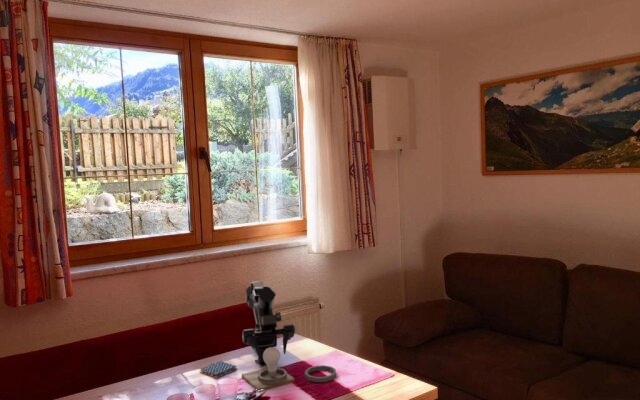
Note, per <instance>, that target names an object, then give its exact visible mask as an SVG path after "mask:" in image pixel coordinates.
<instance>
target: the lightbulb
mask: <svg viewBox="0 0 640 400" xmlns="http://www.w3.org/2000/svg"><path fill="white" fill-rule="evenodd" d="M280 359H281V353H280V350H278V348H277V347H269V348H267V349H266V350H265V351H264V353H263V360H264V362H265V363H266V365H265V366H266V368H268V371H269V376H270V377H271V378H274V377H275V376H276V370H277V366H278V364H279V361H280Z"/></svg>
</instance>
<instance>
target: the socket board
mask: <svg viewBox="0 0 640 400" xmlns="http://www.w3.org/2000/svg"><path fill="white" fill-rule="evenodd" d="M241 378H242V379H244V380H245V382H246V383H248V384H249V385H250V386H251V387H252V388H253V387H254V388H253V389H254V390H256V389H257V390H261V389H266V390H270V389H273V388H276V387H279V386H280V387H281V386H283V385H284V386H285V385H287V384H291V383H294V382H296V379H295V377H293V376H292V375H290V374H289V373H288V372H287V370H285V369H284V368H281V367H279V366H278V365H277V370H276V376H275V377H274V378H271V377H270V376H269V371H268V368H267V367H265V368H262V369H257V370H253V371H250V372H246V373H242V374H241ZM257 390H256V391H257Z"/></svg>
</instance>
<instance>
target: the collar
mask: <svg viewBox="0 0 640 400" xmlns="http://www.w3.org/2000/svg"><path fill="white" fill-rule="evenodd" d="M317 371H326V372H330V373H331V374H328V375H325V376H313V375H310V374H311V373H313V372H317ZM336 377H337V369H336V368H334V367H333V366H329V365H315V366H311V367H308V368H307V369H305V371H304V378H305V379H306V380H307V381H308V382H313V383H326V382H328V381H329V382H330V381H332V380H334V379H335V378H336Z"/></svg>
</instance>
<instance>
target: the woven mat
mask: <svg viewBox="0 0 640 400" xmlns="http://www.w3.org/2000/svg"><path fill="white" fill-rule="evenodd" d="M237 367H238V366H237V365H235V364H234V365H233V363H229V362H228V361H227V362H226V361H222V360H220V361H217V362H214V363H211V364H210V365H207V366H204V367H201V368H200V372H199V373H201V374H204V375H208V376H210V377H213V378H215V379H217V378H221V377H222V376H225V375H227V374H229V373H233V372H234V371H236V370H238V368H237Z"/></svg>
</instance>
